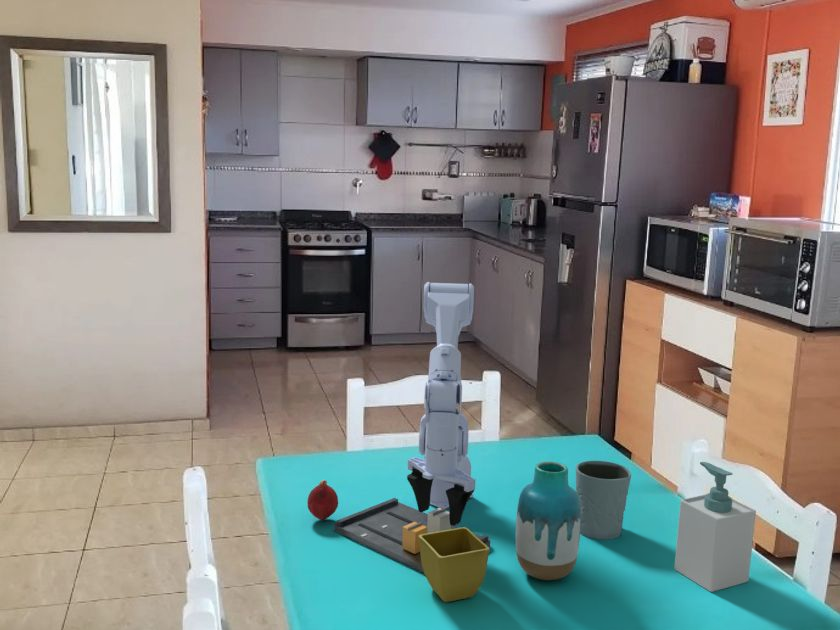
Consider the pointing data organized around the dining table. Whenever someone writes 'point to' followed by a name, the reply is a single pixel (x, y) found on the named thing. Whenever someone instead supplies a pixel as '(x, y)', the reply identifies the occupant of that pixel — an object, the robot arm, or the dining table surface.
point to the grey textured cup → (602, 498)
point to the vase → (548, 524)
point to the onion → (322, 501)
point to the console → (387, 530)
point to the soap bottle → (715, 537)
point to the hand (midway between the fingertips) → (439, 516)
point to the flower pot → (453, 562)
